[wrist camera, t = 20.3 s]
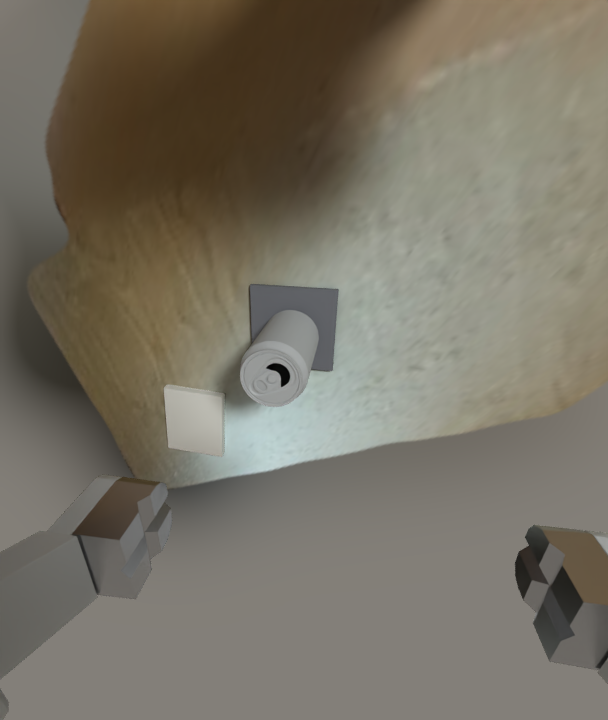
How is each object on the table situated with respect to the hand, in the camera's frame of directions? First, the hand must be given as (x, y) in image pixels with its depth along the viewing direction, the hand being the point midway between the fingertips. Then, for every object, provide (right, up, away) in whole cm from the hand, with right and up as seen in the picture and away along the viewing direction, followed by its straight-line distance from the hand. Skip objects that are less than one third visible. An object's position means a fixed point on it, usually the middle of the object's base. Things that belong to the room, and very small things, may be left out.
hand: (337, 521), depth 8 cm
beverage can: (-2, +7, +34) cm, 35 cm away
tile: (-15, 0, +40) cm, 43 cm away
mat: (-2, +8, +35) cm, 35 cm away
